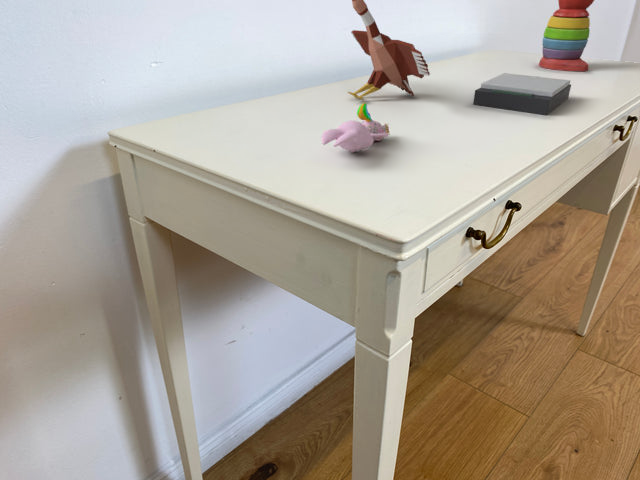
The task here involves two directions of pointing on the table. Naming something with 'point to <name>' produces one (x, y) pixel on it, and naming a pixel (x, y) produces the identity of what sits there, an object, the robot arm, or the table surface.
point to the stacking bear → (567, 36)
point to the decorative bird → (386, 56)
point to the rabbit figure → (357, 132)
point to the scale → (523, 93)
